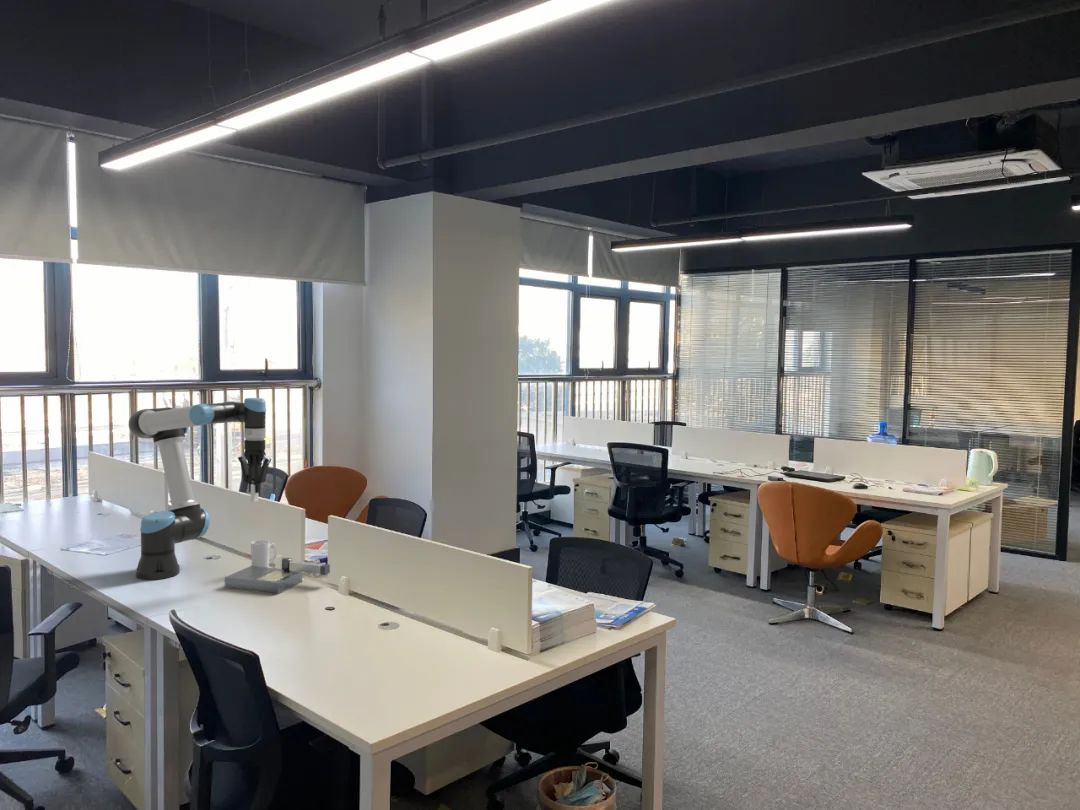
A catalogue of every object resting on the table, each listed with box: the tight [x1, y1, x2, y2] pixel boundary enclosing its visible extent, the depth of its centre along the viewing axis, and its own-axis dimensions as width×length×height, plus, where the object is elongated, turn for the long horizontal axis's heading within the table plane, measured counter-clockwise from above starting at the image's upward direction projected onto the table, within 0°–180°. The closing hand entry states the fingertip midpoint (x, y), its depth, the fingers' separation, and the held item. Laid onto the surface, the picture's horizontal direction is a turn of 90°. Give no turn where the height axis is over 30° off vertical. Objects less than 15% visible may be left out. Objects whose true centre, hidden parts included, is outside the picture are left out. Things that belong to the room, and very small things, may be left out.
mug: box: [250, 539, 278, 568], centre depth 305 cm, size 10×7×12 cm, turn 133°
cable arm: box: [281, 557, 331, 576], centre depth 291 cm, size 19×4×4 cm, turn 74°
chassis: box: [224, 565, 303, 595], centre depth 288 cm, size 22×16×4 cm
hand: (254, 501), depth 292 cm, fingers closed
